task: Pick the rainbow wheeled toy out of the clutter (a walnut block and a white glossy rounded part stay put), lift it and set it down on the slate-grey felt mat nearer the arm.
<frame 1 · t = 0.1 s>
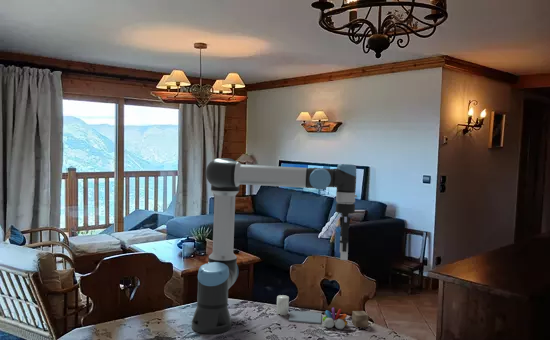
hand: (343, 256, 174), 28 cm above the table, fingers open, 13 cm apart
rainbow wheeled toy: (334, 326, 174), on the table
walnut block: (359, 325, 175), on the table
white glossy rounded part: (282, 313, 185), on the table
felt mat: (305, 317, 181), on the table
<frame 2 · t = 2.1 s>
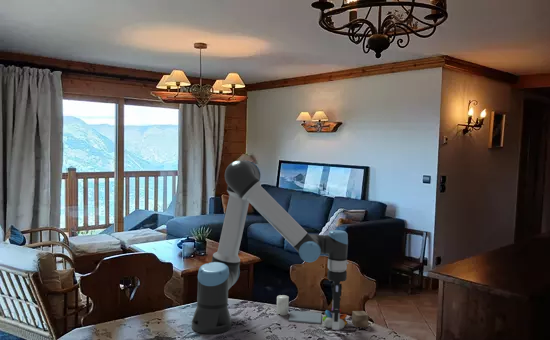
hand: (335, 322, 174), 1 cm above the table, fingers open, 13 cm apart
nothing on the table moved.
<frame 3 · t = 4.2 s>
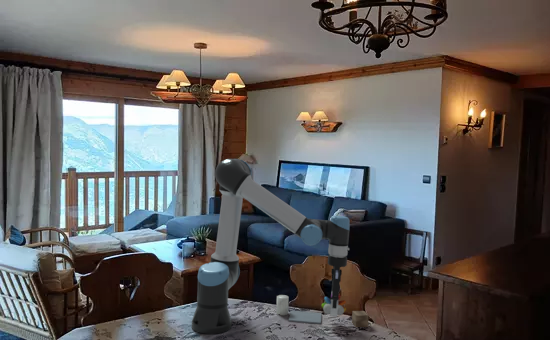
hand: (333, 311, 174), 6 cm above the table, fingers closed on rainbow wheeled toy, 8 cm apart
rainbow wheeled toy: (333, 312, 174), point 5 cm above the table, touching gripper
everything else where it was.
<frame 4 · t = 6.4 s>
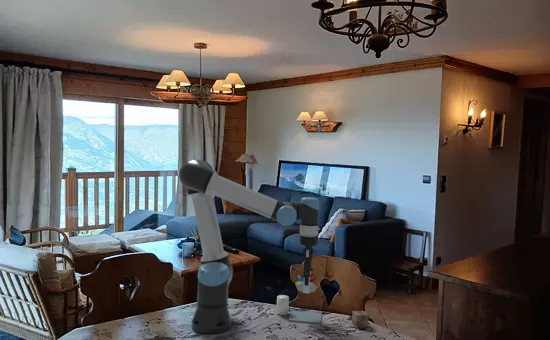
hand: (306, 289, 181), 12 cm above the table, fingers closed on rainbow wheeled toy, 8 cm apart
rainbow wheeled toy: (306, 290, 181), point 11 cm above the table, touching gripper
everything else where it was.
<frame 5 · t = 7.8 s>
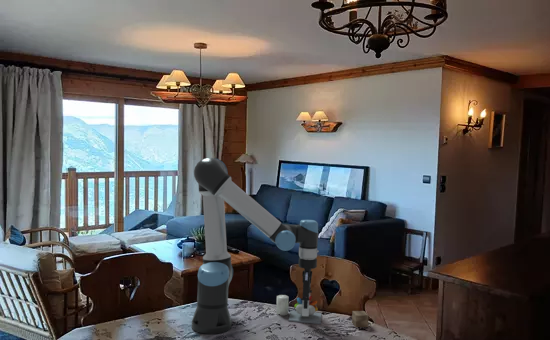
hand: (305, 311, 181), 2 cm above the table, fingers closed on rainbow wheeled toy, 8 cm apart
rainbow wheeled toy: (305, 313, 181), point 2 cm above the table, touching gripper
everything else where it was.
when the fingers open (1 cm above the table, at t = 9.0 s): rainbow wheeled toy stays where it is, resting on felt mat.
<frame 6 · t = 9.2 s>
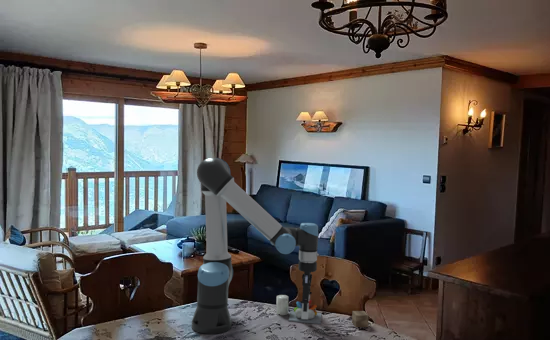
hand: (305, 314, 181), 1 cm above the table, fingers open, 10 cm apart
rainbow wheeled toy: (305, 316, 181), resting on felt mat
everything else where it was.
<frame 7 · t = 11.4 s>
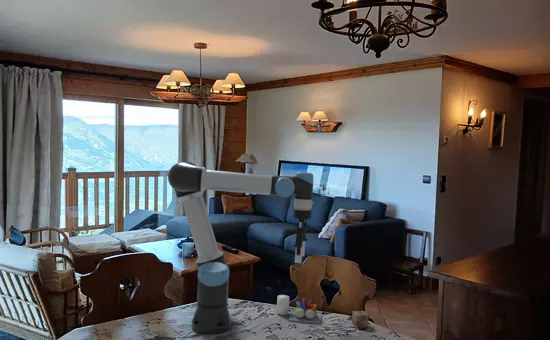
hand: (299, 259, 184), 24 cm above the table, fingers open, 13 cm apart
nothing on the table moved.
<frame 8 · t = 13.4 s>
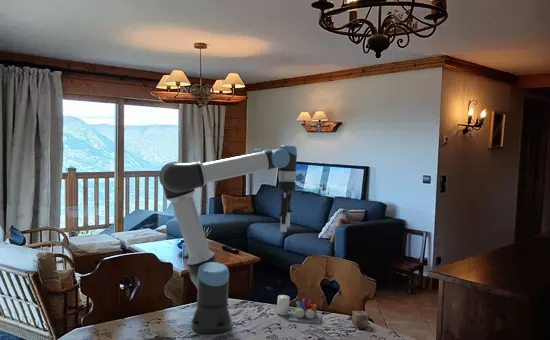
hand: (285, 229, 192), 35 cm above the table, fingers open, 13 cm apart
nothing on the table moved.
at the end: rainbow wheeled toy inside the target area on the felt mat (0.3 cm from its centre), point 0.4 cm above the felt mat's base; the gripper is holding nothing; walnut block moved 0.1 cm from its start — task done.
